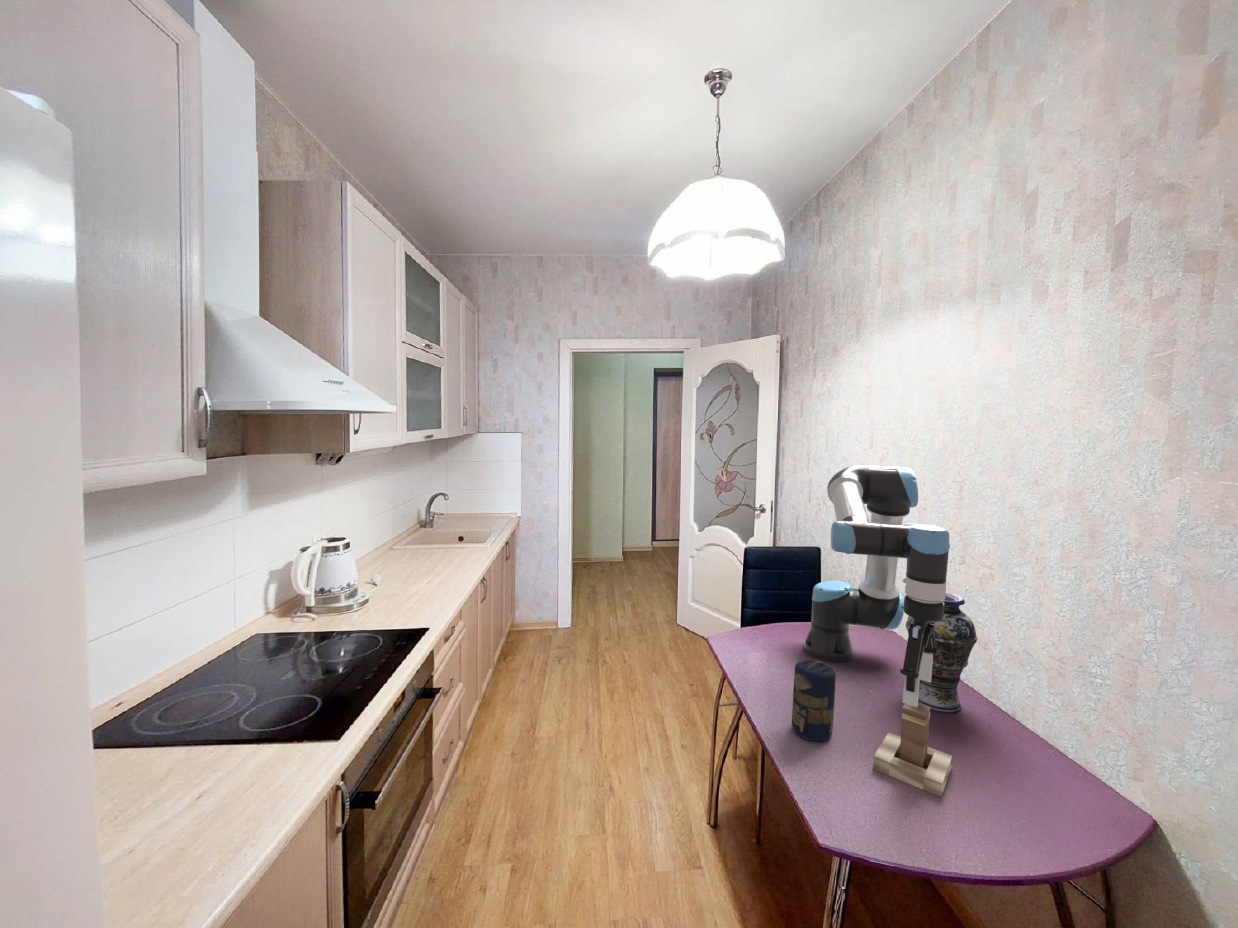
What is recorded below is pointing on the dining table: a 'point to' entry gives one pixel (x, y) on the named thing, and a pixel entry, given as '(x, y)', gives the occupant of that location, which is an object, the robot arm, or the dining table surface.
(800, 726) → the blue patterned canister
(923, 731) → the block
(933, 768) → the socket block
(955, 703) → the vase
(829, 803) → the dining table surface
